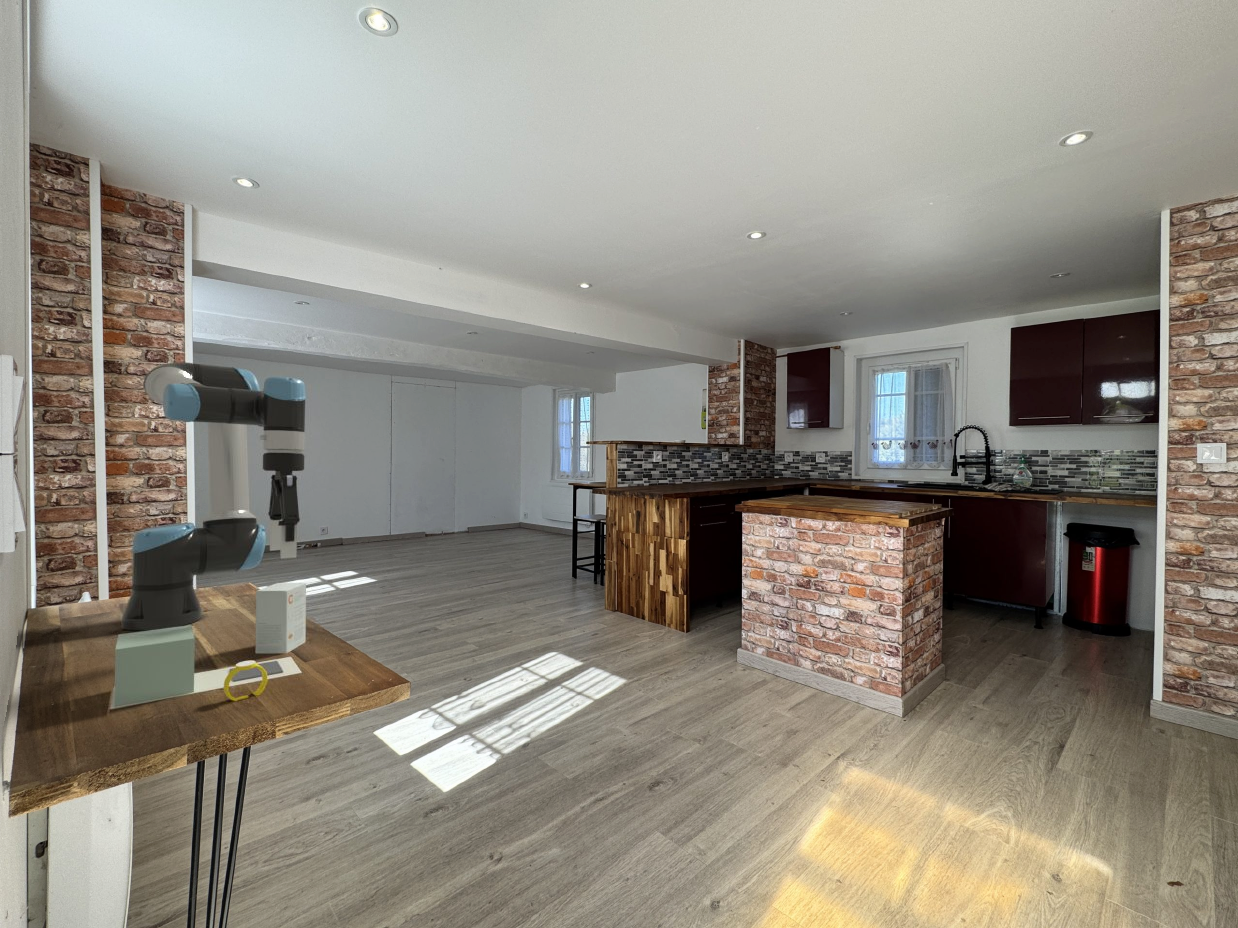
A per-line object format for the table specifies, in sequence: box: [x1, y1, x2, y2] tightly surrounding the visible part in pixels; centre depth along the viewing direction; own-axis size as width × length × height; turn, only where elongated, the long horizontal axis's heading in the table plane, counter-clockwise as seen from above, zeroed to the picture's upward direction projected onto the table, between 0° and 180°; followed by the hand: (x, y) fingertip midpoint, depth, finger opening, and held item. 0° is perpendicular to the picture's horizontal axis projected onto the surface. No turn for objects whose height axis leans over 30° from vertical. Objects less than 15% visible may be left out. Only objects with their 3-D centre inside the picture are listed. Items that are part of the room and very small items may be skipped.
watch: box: [222, 660, 269, 702], centre depth 95 cm, size 6×3×6 cm, turn 141°
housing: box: [114, 624, 196, 707], centre depth 97 cm, size 10×10×9 cm
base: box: [109, 656, 303, 710], centre depth 102 cm, size 11×26×1 cm, turn 129°
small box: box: [254, 582, 307, 654], centre depth 121 cm, size 8×6×13 cm
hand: (282, 553), depth 121 cm, fingers open, 13 cm apart
